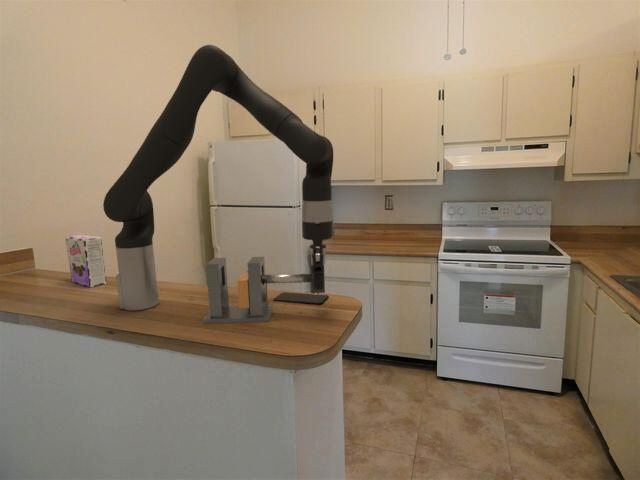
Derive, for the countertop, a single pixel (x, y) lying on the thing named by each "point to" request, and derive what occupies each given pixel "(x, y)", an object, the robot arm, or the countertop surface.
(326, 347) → the countertop surface
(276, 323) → the countertop surface
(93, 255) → the candy box
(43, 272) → the countertop surface
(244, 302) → the spacer
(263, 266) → the bearing bracket
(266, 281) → the shaft
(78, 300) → the countertop surface
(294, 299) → the smartphone
